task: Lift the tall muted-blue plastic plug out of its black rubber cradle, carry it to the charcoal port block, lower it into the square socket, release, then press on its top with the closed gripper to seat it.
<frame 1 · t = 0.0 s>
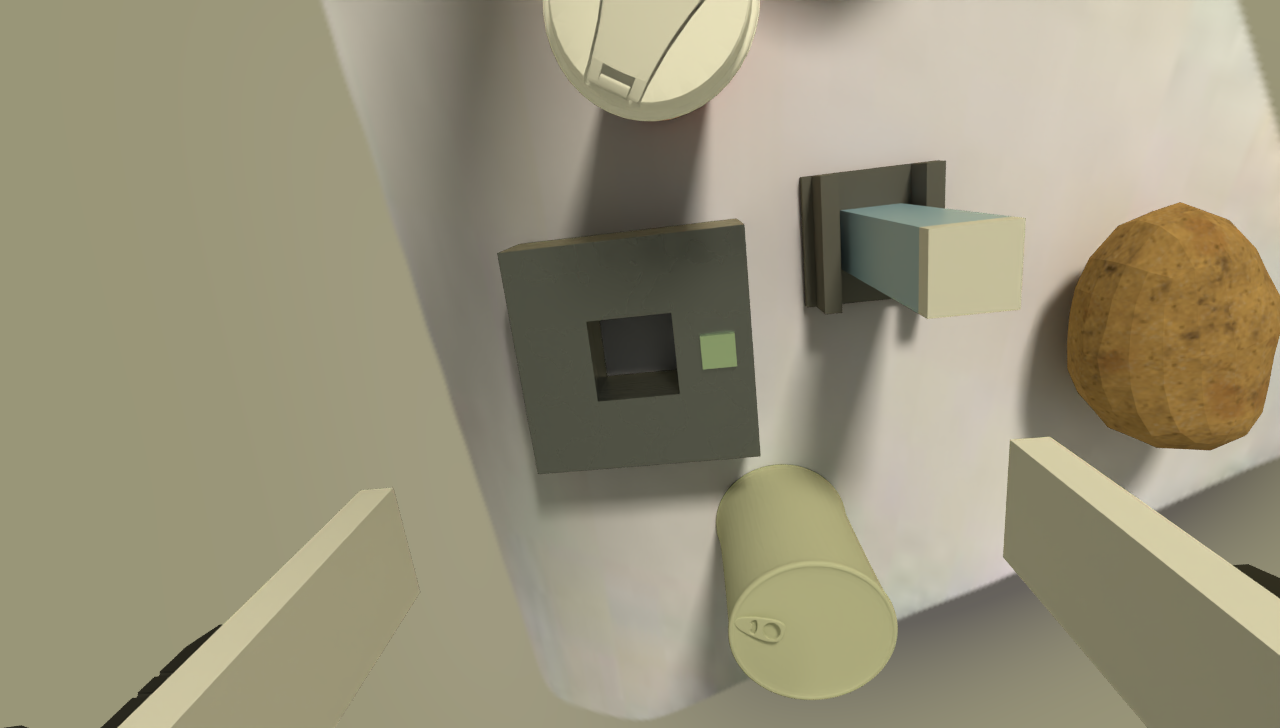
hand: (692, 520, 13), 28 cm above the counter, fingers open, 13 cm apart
plug: (870, 236, 38), point 1 cm above the counter, touching holster
port: (639, 337, 41), on the counter
coffee cup: (661, 65, 36), on the counter
can: (779, 519, 45), on the counter
holster: (867, 235, 38), on the counter
potato: (1113, 311, 39), on the counter
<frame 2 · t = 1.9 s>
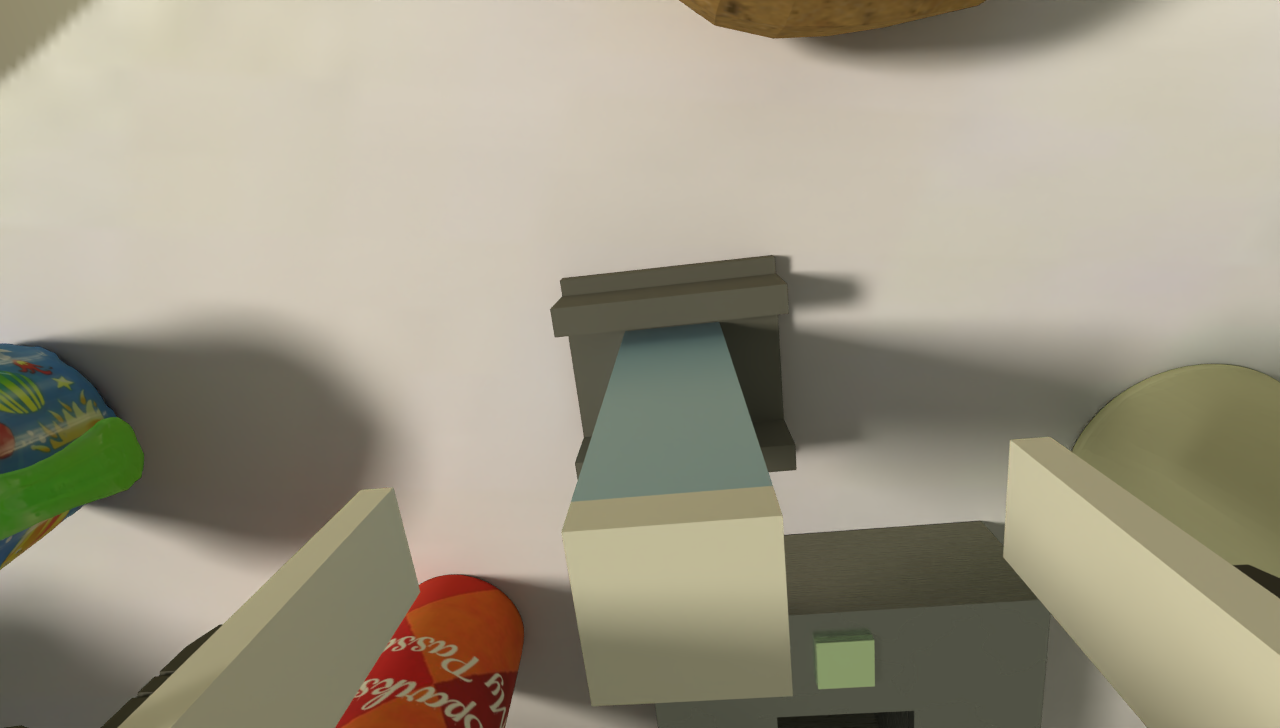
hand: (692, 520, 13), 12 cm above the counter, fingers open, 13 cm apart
plug: (676, 371, 24), point 1 cm above the counter, touching holster
port: (817, 666, 28), on the counter
coffee cup: (461, 624, 29), on the counter
snack cup: (51, 420, 27), on the counter
can: (1177, 470, 25), on the counter
holster: (676, 366, 24), on the counter
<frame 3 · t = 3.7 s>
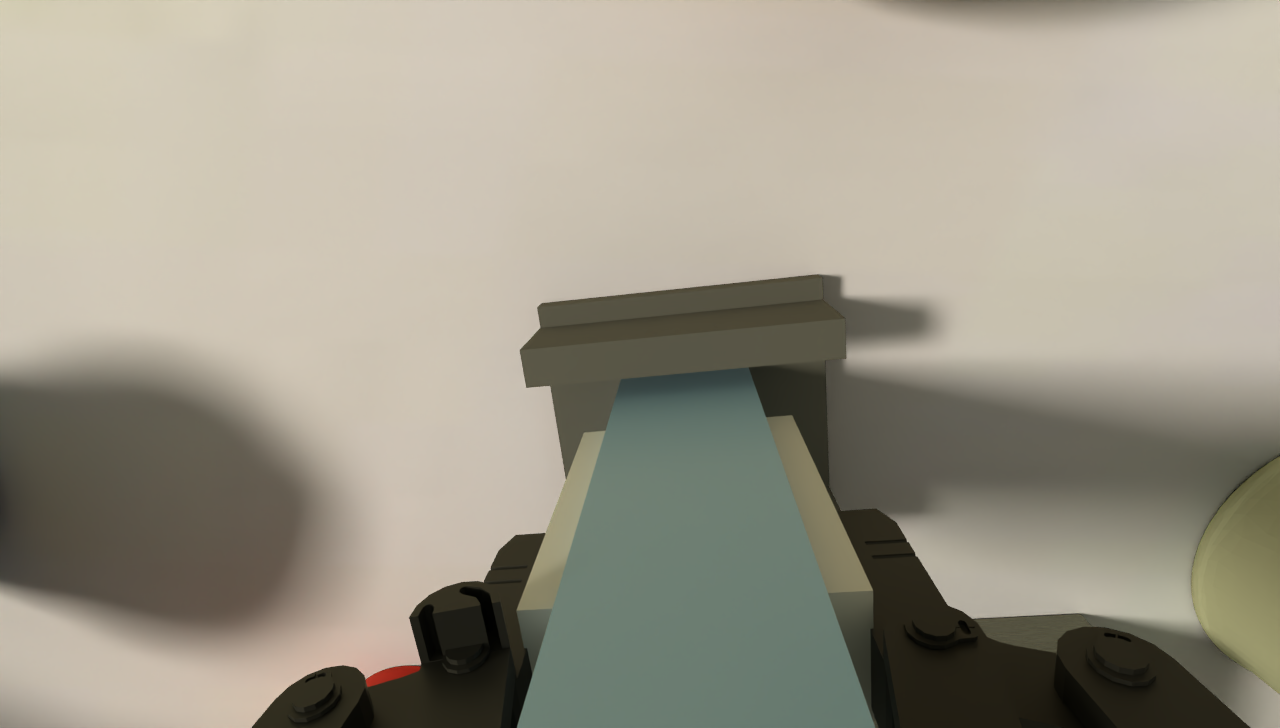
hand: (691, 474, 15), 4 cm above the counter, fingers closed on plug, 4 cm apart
plug: (689, 425, 18), point 1 cm above the counter, touching gripper, holster
coffee cup: (423, 723, 23), on the counter
holster: (689, 417, 19), on the counter
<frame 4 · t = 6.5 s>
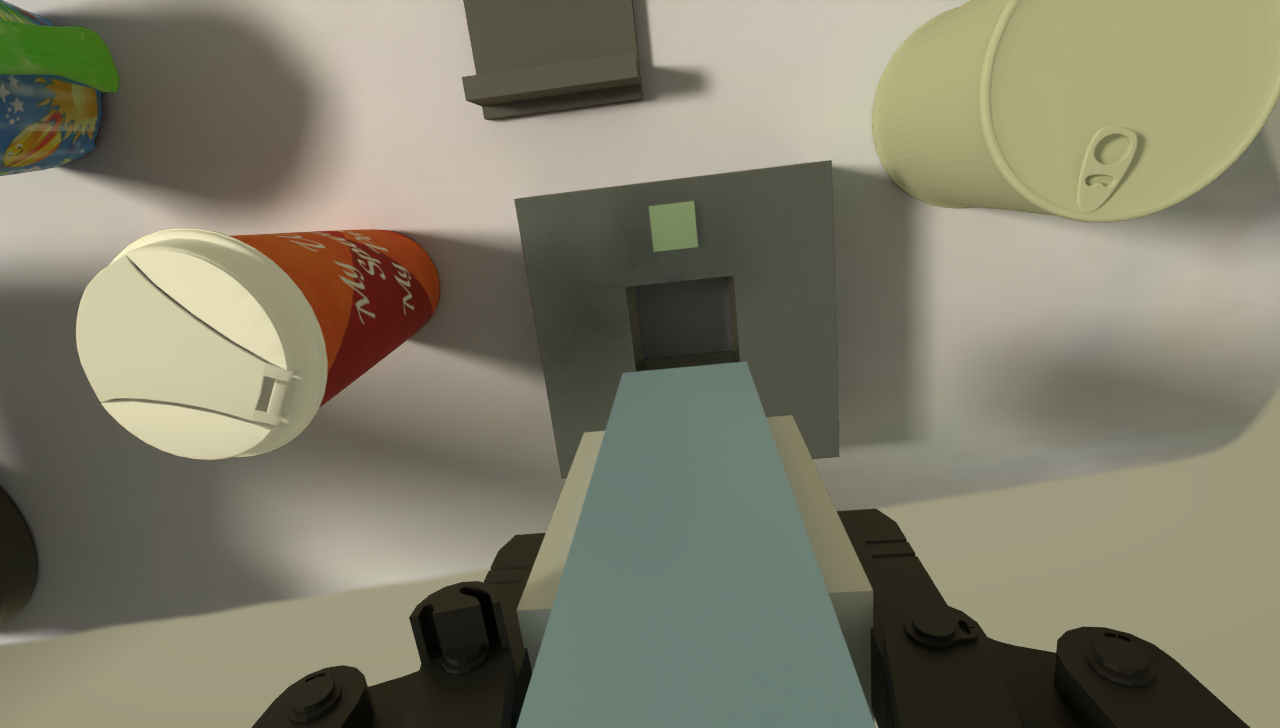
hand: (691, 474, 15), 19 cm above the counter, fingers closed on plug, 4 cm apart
plug: (689, 424, 18), point 16 cm above the counter, touching gripper
port: (683, 311, 34), on the counter
coffee cup: (389, 282, 34), on the counter
snack cup: (47, 93, 33), on the counter
can: (966, 111, 30), on the counter
holster: (551, 22, 30), on the counter
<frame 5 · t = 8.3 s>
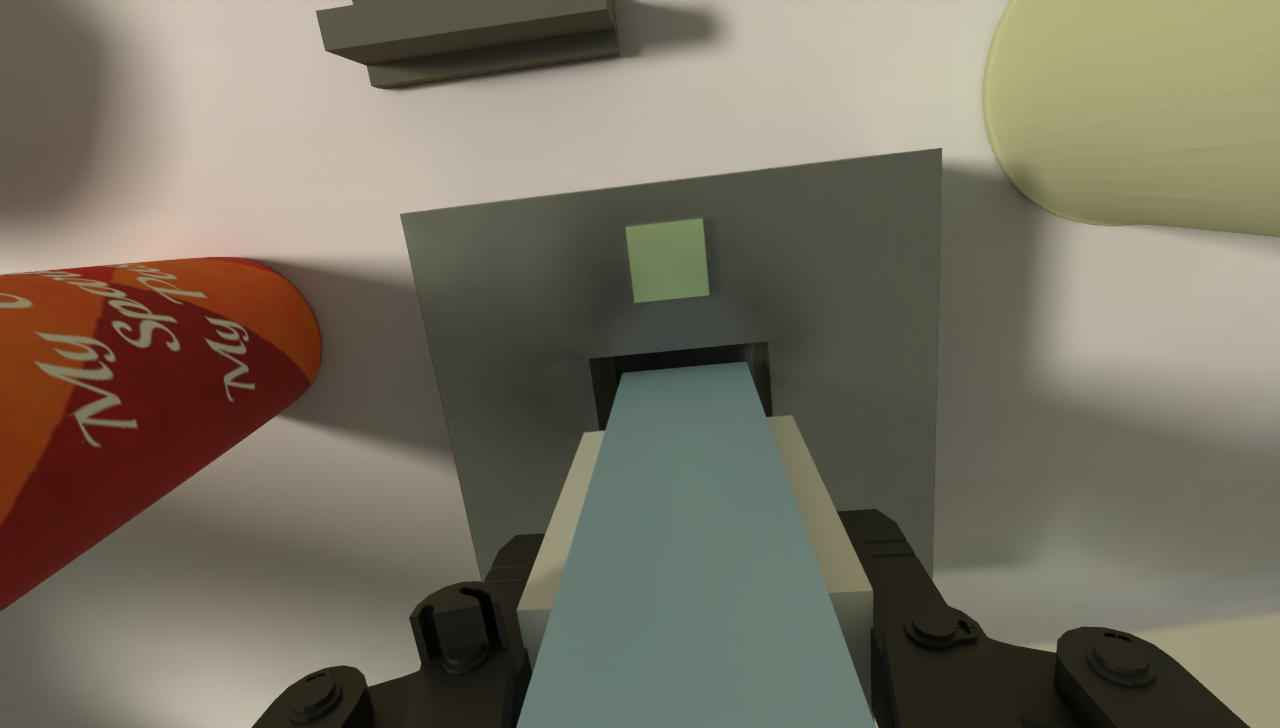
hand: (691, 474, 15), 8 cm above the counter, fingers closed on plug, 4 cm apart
plug: (689, 424, 18), point 4 cm above the counter, touching gripper
port: (684, 378, 23), on the counter
coffee cup: (247, 333, 23), on the counter
can: (1132, 72, 19), on the counter
when the fingers open (6 cm above the counter, at t = 9.4 s): plug drops 3 cm, resting in port.
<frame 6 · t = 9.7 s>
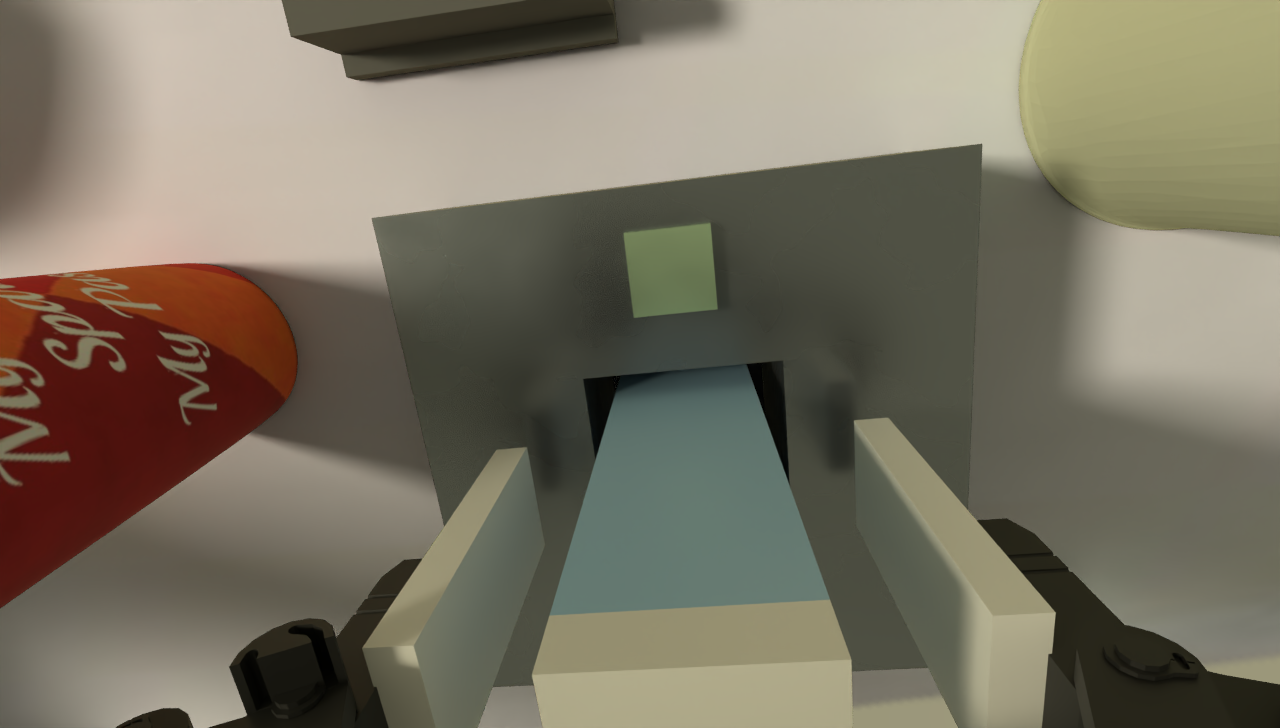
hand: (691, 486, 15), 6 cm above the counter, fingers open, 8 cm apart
plug: (687, 394, 21), resting in port
port: (688, 395, 21), on the counter
coffee cup: (217, 345, 22), on the counter
can: (1185, 60, 17), on the counter
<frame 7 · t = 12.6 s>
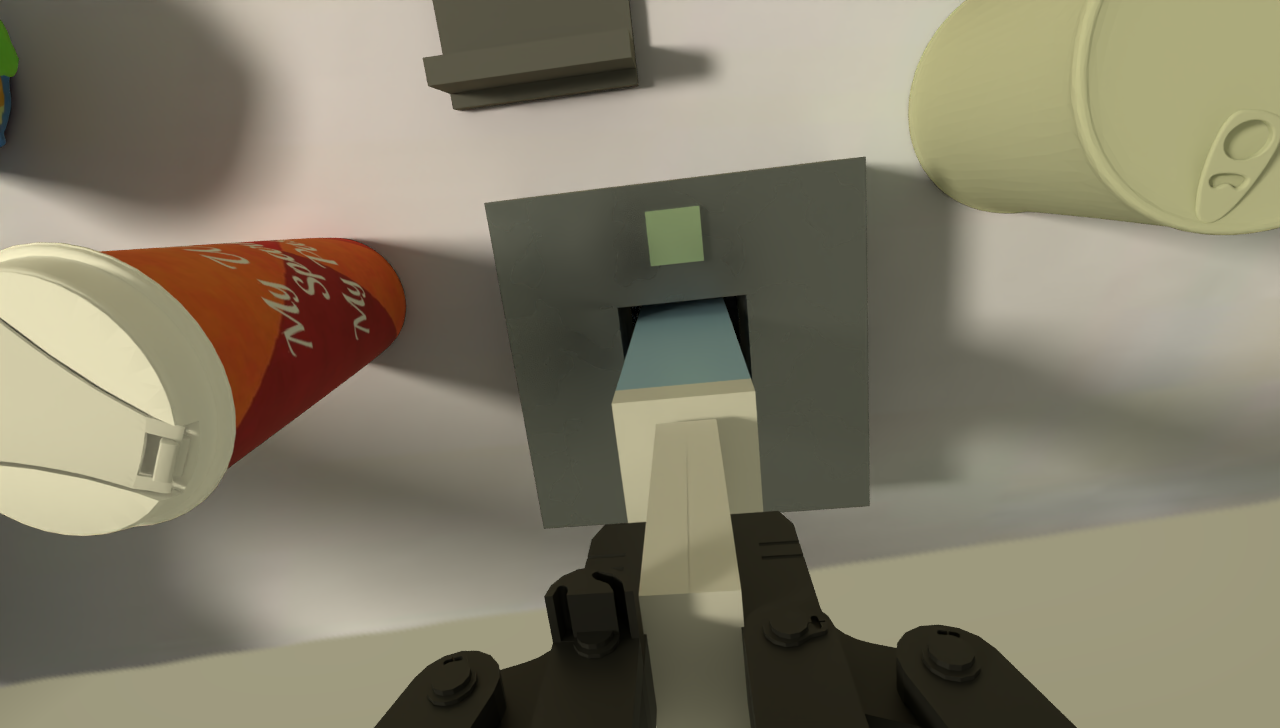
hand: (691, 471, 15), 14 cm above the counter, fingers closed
plug: (685, 331, 29), resting in port
port: (686, 332, 29), on the counter
coffee cup: (347, 298, 30), on the counter
can: (1019, 99, 26), on the counter
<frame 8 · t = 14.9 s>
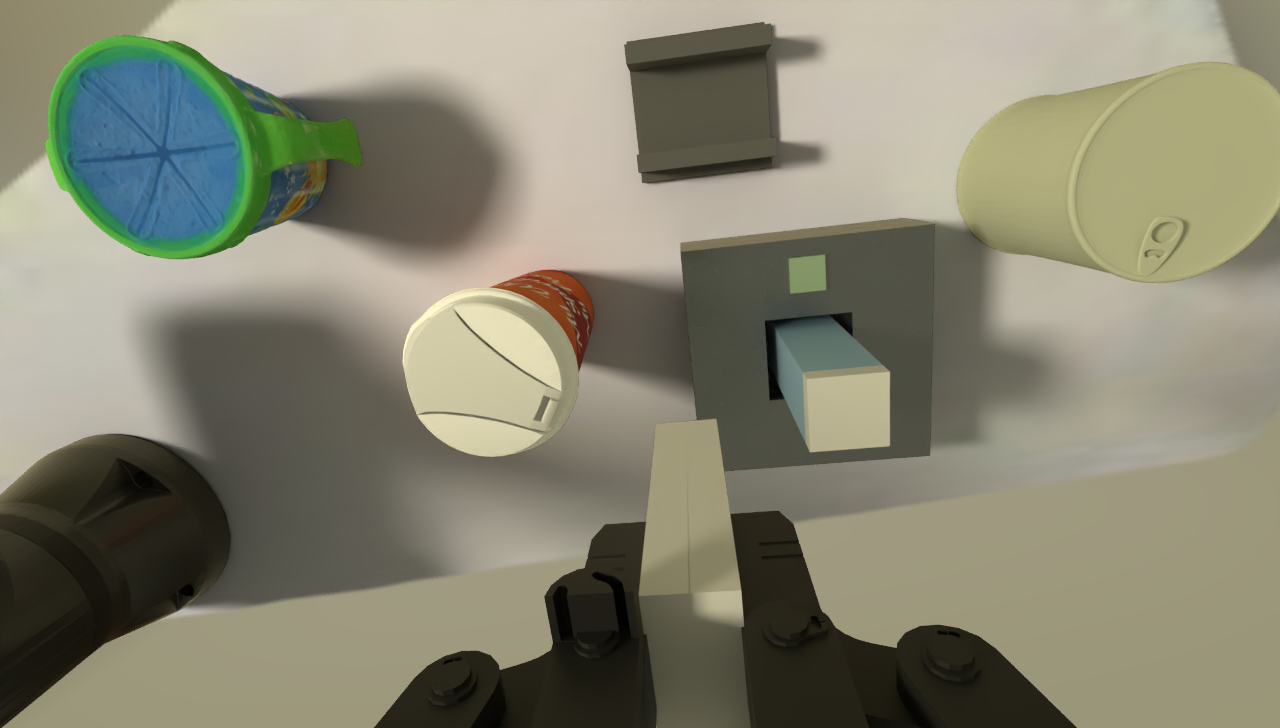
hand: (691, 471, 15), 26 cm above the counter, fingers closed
plug: (794, 336, 41), resting in port
port: (794, 336, 41), on the counter
coffee cup: (550, 311, 42), on the counter
snack cup: (280, 159, 40), on the counter
can: (1032, 177, 37), on the counter
holster: (700, 106, 37), on the counter
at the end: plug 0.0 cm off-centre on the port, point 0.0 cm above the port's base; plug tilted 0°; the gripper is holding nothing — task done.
